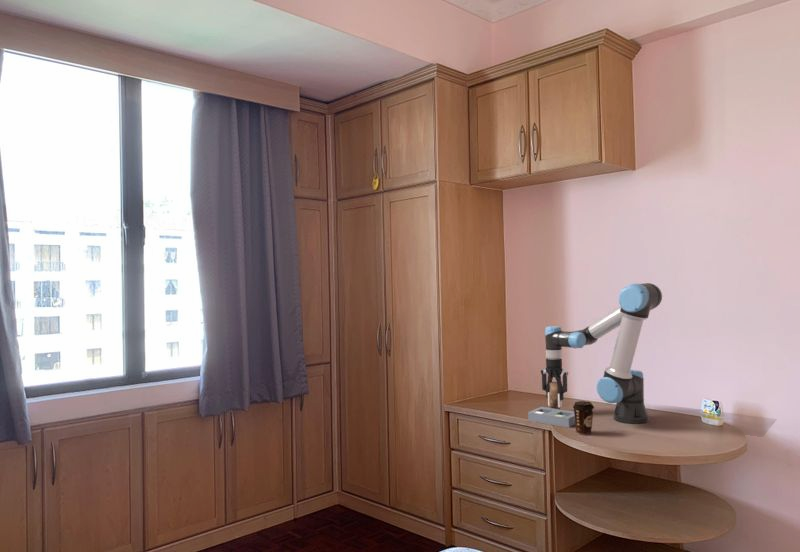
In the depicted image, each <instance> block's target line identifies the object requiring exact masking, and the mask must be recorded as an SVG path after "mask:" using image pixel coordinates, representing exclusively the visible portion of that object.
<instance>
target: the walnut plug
mask: <svg viewBox="0 0 800 552" xmlns="http://www.w3.org/2000/svg"><path fill="white" fill-rule="evenodd" d="M558 393H559V389H558V385H557V381H552V382H550V406H549V408H553V409H560V410H561V407H558Z"/></svg>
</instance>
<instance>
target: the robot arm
mask: <svg viewBox="0 0 800 552" xmlns="http://www.w3.org/2000/svg"><path fill="white" fill-rule="evenodd" d="M618 295H619V296H618V303H619V306H618V307H617V308H614V309H613V310H612V311H610V312H608V313H607V314H604V316H602V317H600V318H599V319H598V320H597V319H596V321H593V322H592V323H591V324H589V325H588V326H586V327H584V328H583V329H581V330H580V329H579V330H573V331H568V330H567V331H565V330H564V331H563V330H562V327H561V326H559V325H558V326H557V325H549V326H546V327H545V329H544V330H545V331H544V332H545V335H544V336H545V337H544V338H545V369H541V370H540V374H541V390H542V391H545V395H546V397H545V398H546V399H547V405H548V406H547V407H550V382H553V379H554V378H555V380H556V381H555V382H557V385H558V389H559V393H558V407H560V408H561V407H563V401H564V394H565V393H567V392H568V375H569V372H568V371H564V370H563V359H562V356H563V354H562V353H563V351H562V348H573V349H583V348H584V347H585V346H589V345H593V344H595V343H596V342H597V341H598V340H599V339H600V338H602V337H604V336H606V335H607V334H609V333H610V332H612V331H613V330H616V329H618V332H617V336H616V340H615V344H614V347H613V351H612V356H611V360H610V364H609V366H607V367H605V369H604V373H603V377H601V378H600V379H598V381H597V383H596V392H597V394H598V396H599V398H600V399H602V400H603V401H604V402H606V403H608V404H615V403H616V404H615V407H614V410H613V413H612V414H613V415H612V419H613V420H615V421H616V422H620V423H626V424H645V423H648V422H649V414H648V411H647V409H646V405H645V395H644V394H645V391H644V387H645V385H644V380H645V378H644V373H643V372H642V370H637V369H631V368H632V365H633V361H634V357H635V355H636V349H637V346H638V342H639V339H640V333H641V330H642V327H643V323H644V321H645V320H647V319H648V318H649V315H650V311H652V310H654V309H656V308H657V307H658V306H660V305H661V302H662V300H663V293H662V291H661V289H660V288H659V287H658V286H657V285H656V284H653V283H649V282H646V283H645V282H644V283H632V284H628V285H626V286H625V287H624V288H622V289H621V291H620V293H619V294H618Z"/></svg>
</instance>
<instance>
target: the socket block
mask: <svg viewBox="0 0 800 552" xmlns="http://www.w3.org/2000/svg"><path fill="white" fill-rule="evenodd" d="M527 420H528V421H529V422H532V423H533V422H534V423H541V424H547V425H551V426H559V427H564V428H571V427H573V426H576V424H575V415H574V410H568V409H567V410H565V409H561V408H560V409H553V408H550V407H545V406H540V407H537V408H535V409H533V410H529V411H528V412H527Z"/></svg>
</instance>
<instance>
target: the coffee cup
mask: <svg viewBox="0 0 800 552" xmlns="http://www.w3.org/2000/svg"><path fill="white" fill-rule="evenodd" d="M572 408H573V411H574V415H575V433H576V434H577V435H587V436H588V435H591V434H592V427H593V418H594V412H593V409H595V406H594V405H593V403H592V402H590V401H587V400H586V401H584V400H578V401H575V402H574V405H572Z"/></svg>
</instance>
